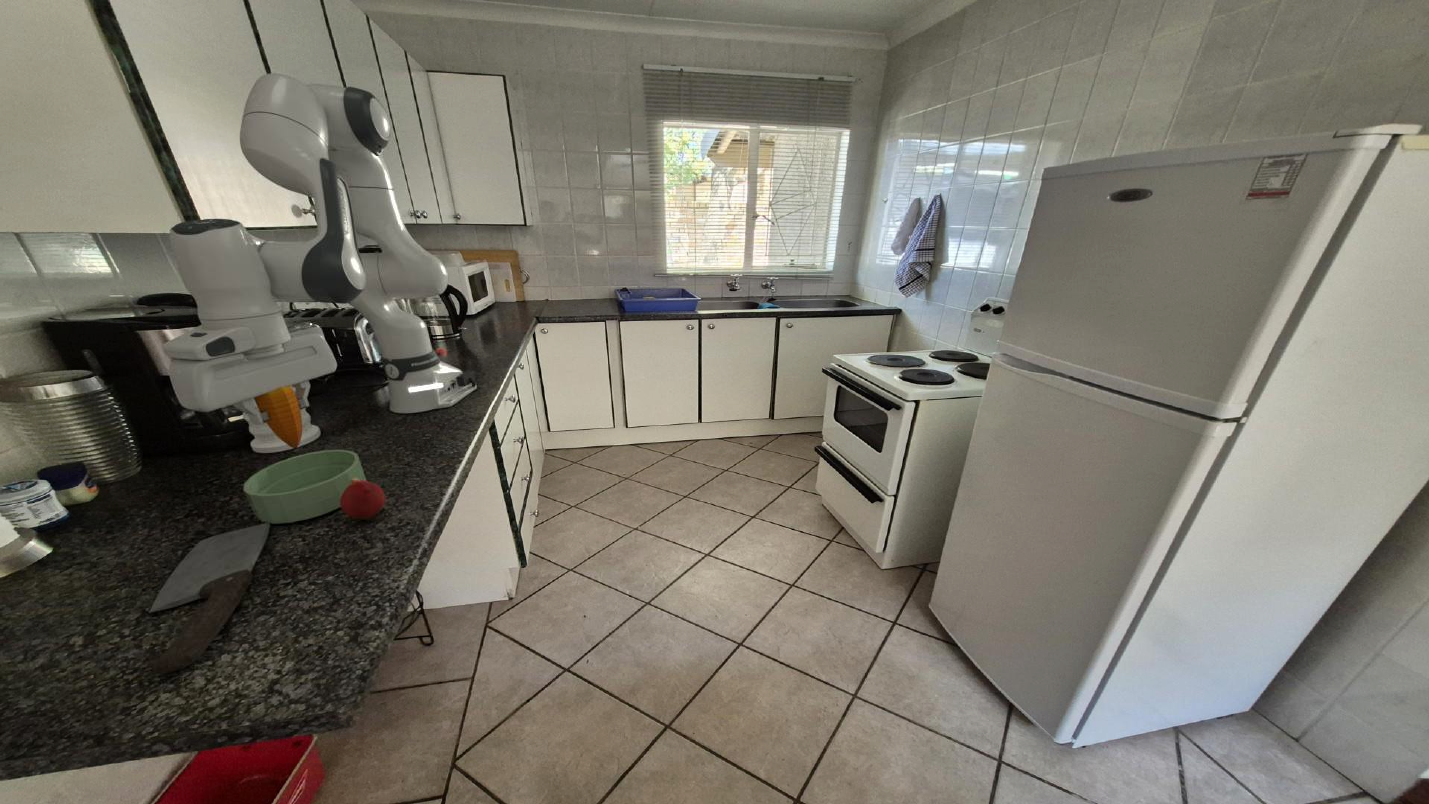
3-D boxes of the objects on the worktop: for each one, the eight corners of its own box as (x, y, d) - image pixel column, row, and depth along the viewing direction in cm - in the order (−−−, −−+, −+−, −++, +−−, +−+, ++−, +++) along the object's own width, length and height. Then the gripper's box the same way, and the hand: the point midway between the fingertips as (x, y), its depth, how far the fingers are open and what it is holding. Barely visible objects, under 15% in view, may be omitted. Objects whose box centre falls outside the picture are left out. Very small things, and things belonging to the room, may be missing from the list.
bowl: (323, 472, 88) (313, 446, 86) (388, 481, 86) (379, 454, 83) (233, 519, 75) (218, 489, 72) (306, 532, 72) (293, 501, 70)
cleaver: (224, 657, 51) (217, 644, 50) (93, 705, 46) (82, 691, 45) (276, 524, 74) (271, 513, 73) (191, 546, 69) (185, 535, 68)
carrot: (291, 456, 73) (256, 369, 68) (267, 453, 74) (231, 367, 69) (321, 442, 78) (291, 360, 72) (298, 439, 79) (266, 358, 73)
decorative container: (238, 449, 97) (202, 370, 90) (297, 426, 107) (269, 355, 101) (277, 456, 94) (243, 376, 87) (333, 432, 105) (306, 359, 98)
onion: (386, 504, 79) (373, 465, 76) (393, 518, 75) (380, 478, 72) (345, 518, 75) (330, 477, 72) (350, 534, 71) (335, 492, 68)
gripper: (303, 318, 78) (328, 391, 84) (145, 349, 60) (190, 440, 65) (332, 320, 77) (356, 394, 83) (180, 352, 59) (223, 445, 64)
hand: (282, 415), depth 74 cm, fingers closed on carrot, 5 cm apart
